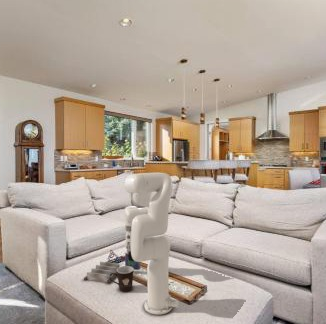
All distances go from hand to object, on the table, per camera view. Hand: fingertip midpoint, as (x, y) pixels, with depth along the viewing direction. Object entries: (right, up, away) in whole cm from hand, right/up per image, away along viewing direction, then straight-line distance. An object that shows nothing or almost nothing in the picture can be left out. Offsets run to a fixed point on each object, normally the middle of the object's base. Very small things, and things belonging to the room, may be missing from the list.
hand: (132, 258), depth 148 cm
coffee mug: (-3, -9, -18) cm, 20 cm away
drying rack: (-16, -8, -2) cm, 18 cm away
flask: (0, -6, 0) cm, 6 cm away
